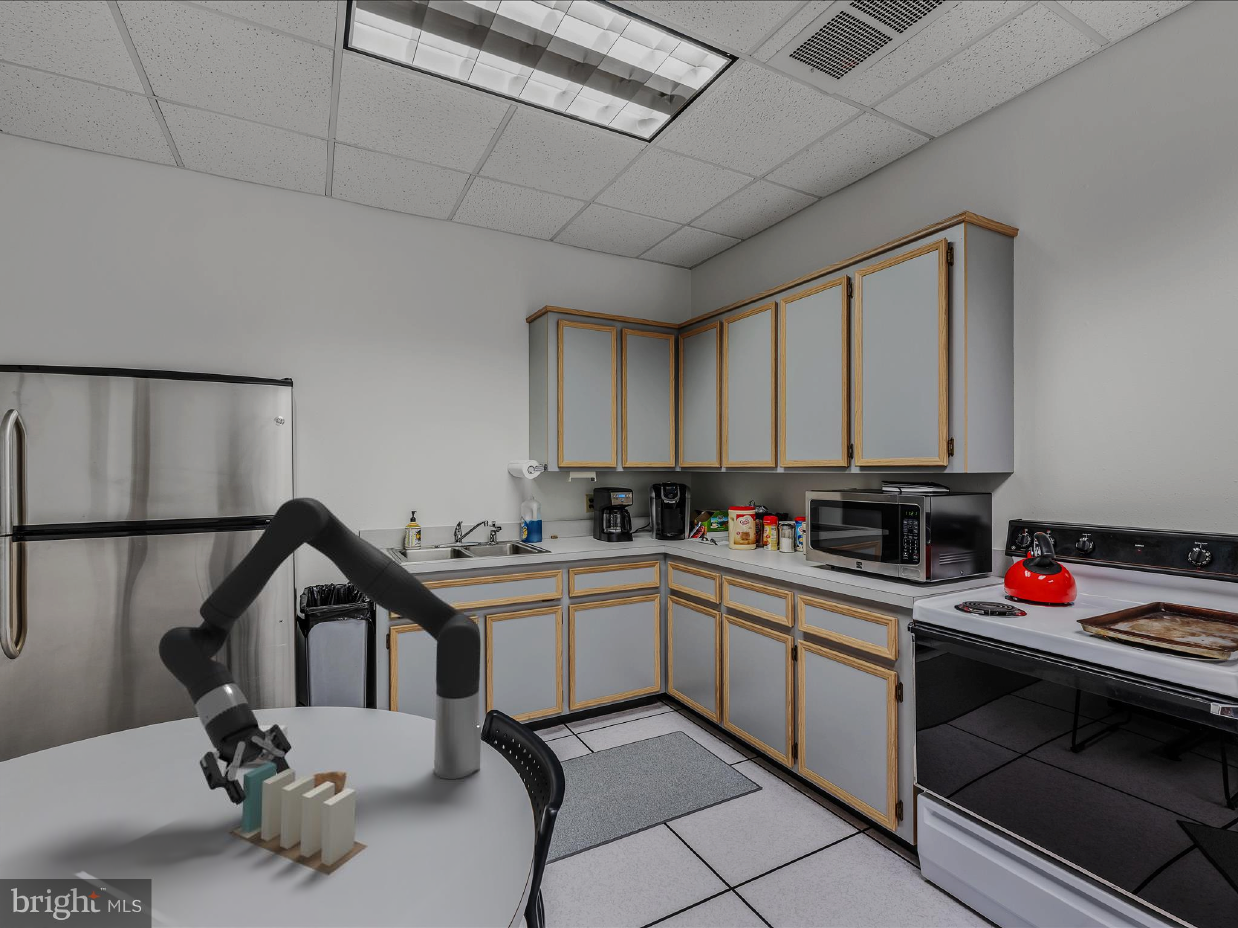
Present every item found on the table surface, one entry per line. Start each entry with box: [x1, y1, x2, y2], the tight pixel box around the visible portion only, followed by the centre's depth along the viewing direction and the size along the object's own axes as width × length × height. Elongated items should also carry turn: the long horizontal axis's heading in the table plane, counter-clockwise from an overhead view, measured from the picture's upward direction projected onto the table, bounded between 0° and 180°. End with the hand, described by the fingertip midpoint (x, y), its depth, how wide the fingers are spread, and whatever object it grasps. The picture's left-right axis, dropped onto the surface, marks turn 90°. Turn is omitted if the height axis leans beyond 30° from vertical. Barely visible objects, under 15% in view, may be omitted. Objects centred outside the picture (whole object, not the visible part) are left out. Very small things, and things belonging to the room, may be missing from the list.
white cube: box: [245, 724, 288, 765], centre depth 133 cm, size 6×6×6 cm
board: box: [228, 825, 368, 876], centre depth 103 cm, size 25×8×1 cm, turn 66°
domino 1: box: [261, 768, 296, 841], centre depth 105 cm, size 2×5×10 cm, turn 156°
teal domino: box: [241, 762, 277, 833], centre depth 107 cm, size 2×5×10 cm, turn 157°
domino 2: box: [280, 774, 315, 849], centre depth 103 cm, size 2×5×10 cm, turn 156°
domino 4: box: [321, 787, 356, 866], centre depth 99 cm, size 2×5×10 cm, turn 156°
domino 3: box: [301, 781, 335, 857], centre depth 101 cm, size 2×5×10 cm, turn 156°
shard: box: [312, 770, 347, 796], centre depth 120 cm, size 11×8×2 cm
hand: (265, 789), depth 107 cm, fingers open, 8 cm apart
